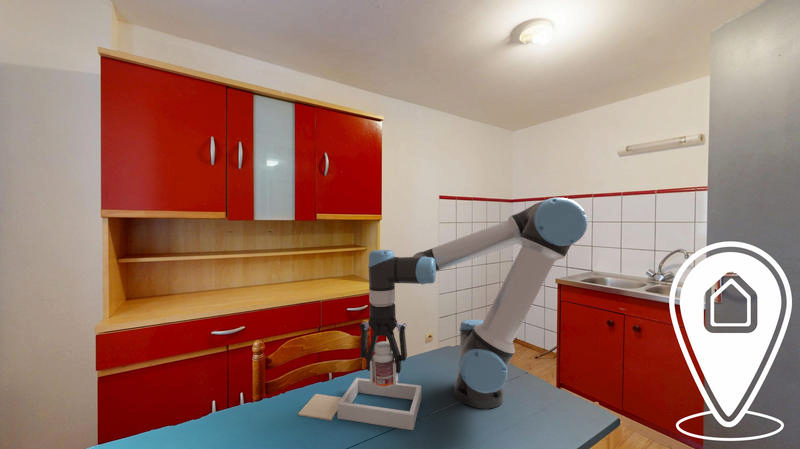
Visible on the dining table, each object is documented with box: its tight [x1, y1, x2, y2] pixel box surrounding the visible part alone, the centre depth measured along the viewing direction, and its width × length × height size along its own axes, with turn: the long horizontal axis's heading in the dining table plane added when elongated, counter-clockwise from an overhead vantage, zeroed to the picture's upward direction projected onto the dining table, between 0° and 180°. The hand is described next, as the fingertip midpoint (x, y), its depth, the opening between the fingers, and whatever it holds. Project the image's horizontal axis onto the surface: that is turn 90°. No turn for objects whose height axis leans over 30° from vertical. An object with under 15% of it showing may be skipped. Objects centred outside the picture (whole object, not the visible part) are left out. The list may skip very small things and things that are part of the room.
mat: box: [297, 393, 342, 421], centre depth 87 cm, size 10×10×1 cm
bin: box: [337, 377, 422, 431], centre depth 87 cm, size 21×14×4 cm
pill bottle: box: [372, 340, 395, 388], centre depth 87 cm, size 6×6×11 cm
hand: (384, 382), depth 86 cm, fingers closed on pill bottle, 6 cm apart
